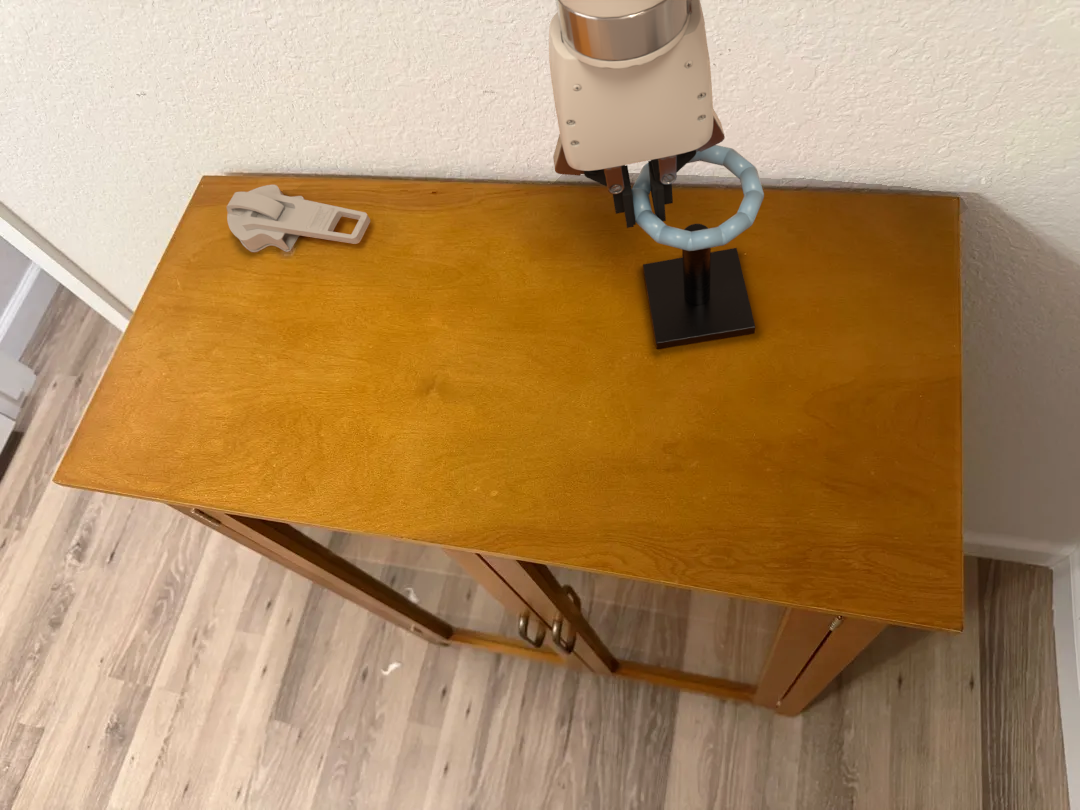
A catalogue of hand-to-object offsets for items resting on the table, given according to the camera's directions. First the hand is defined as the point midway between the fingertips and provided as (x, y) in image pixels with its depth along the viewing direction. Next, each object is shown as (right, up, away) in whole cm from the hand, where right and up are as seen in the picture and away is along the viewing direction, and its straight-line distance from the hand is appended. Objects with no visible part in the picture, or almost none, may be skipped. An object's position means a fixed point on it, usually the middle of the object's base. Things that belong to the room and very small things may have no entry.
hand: (643, 209), depth 60 cm
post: (+7, -5, +13) cm, 16 cm away
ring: (+4, +1, -1) cm, 4 cm away
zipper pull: (-35, +4, +27) cm, 44 cm away
